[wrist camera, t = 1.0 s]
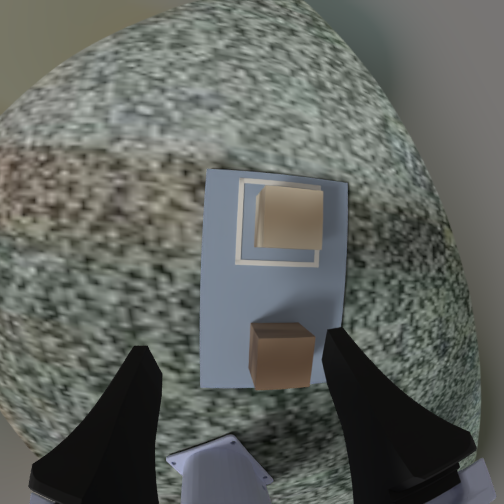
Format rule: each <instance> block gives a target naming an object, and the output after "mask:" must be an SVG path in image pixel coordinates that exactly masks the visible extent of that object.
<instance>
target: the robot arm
mask: <svg viewBox="0 0 504 504" xmlns="http://www.w3.org/2000/svg"><path fill="white" fill-rule="evenodd" d="M321 360H322V364H323V369H324V374H325V378H326V382H327V385H328V388H329V391H330V393H331V396H332V399H333V402H334V405H335V408H336V411H337V414H338V416H339V419H340V422H341V426H342V429H343V433H344V437H345V442H346V447H347V453H348V458H349V464H350V471H351V478H352V488H353V500H354V504H489V503H491V502H492V501H493V500H494V499H495V498H496V494H495V490H494V487H493V484H492V481H491V478H490V475H489V472H488V469H487V467H486V464H485V461H484V459H483V458H481V459H479V460H477V461H476V462H474V463H473V464H471V465H470V466H468V467H466V468H464V469H463V470H460V471H458V472H457V469H459V468H460V466H459V463H458V462H459V461H461V460H462V459H464V458H466V457H467V456H469V455H470V454H472V453H473V452H474V451H476V449H477V447H476V445H475V442H474V440H473V438H472V436H471V434H470V432H469V431H466V430H464V429H462V428H460V427H457V426H455V425H453V424H451V423H449V422H447V421H445V420H444V419H442V418H440V417H438V416H437V415H435V414H433V413H432V412H430V411H429V410H427V409H426V408H424V407H423V406H421V405H420V404H418V403H417V402H416V401H414V400H413V399H412V398H410V397H409V396H408V395H407V394H405V393H404V392H403V391H402V390H400V389H399V388H398V387H397V386H396V385H395V384H394V383H393V382H392V381H391V380H389V379H388V378H387V377H386V376H385V375H384V374H383V373H382V372H381V371H380V370H379V369H378V368H377V367H376V366H375V364H374V363H373V362H372V361H371V360H370V359H369V358H368V357H367V356H366V355H365V354H364V352H363V351H362V350H361V349H360V348H359V347H358V345H357V344H356V343H355V342H354V341H353V340H352V338H351V337H350V336H349V335H348V333H347V332H346V331H345V330H344V328H342V327H338V328H332V329H327V333H326V339H325V344H324V349H323V354H322V359H321ZM161 397H162V372H161V370H160V369H159V367H158V365H157V363H156V361H155V359H154V357H153V355H152V354H151V352H150V350H149V348H148V346H134V347H133V348H132V350H131V351H130V353H129V354H128V356H127V358H126V359H125V361H124V362H123V364H122V366H121V367H120V369H119V370H118V372H117V374H116V375H115V377H114V378H113V380H112V381H111V383H110V384H109V386H108V387H107V389H106V390H105V392H104V393H103V395H102V396H101V397H100V399H99V400H98V402H97V403H96V404H95V406H94V407H93V408H92V410H91V411H90V412H89V414H88V415H87V416H86V417H85V418H84V420H83V421H82V422H81V423H80V424H79V425H78V426H77V427H76V428H75V429H74V431H73V432H72V433H71V434H70V435H69V436H68V437H67V438H66V439H64V440H63V441H62V442H61V443H60V444H59V445H58V446H56V447H55V448H54V449H53V450H52V451H50V452H49V453H48V454H46V455H45V456H44V457H42V458H41V459H39V460H38V461H36V462H35V463H33V464H32V469H31V474H30V480H29V488H30V489H31V490H32V491H34V492H36V493H38V494H40V495H42V496H44V497H46V498H48V499H50V500H48V499H46V498H44V497H41V496H39V495H37V494H35V493H31V497H30V504H159V501H158V494H157V485H156V471H155V440H156V432H157V425H158V418H159V411H160V404H161ZM232 441H235V442H232ZM166 461H167V462H168V463H169V464H170V465H171V466H172V467H173V468H174V469H175V470H177V471H178V472H179V473H180V474H181V475H182V476H183V479H182V492H181V504H271V500H270V497H269V494H268V490H267V487H266V485H267V484H270V483H272V482H273V478H272V477H271V476H270V475H269V474H268V473H267V472H266V471H265V470H264V468H263V467H262V466H261V465H260V464H259V463H258V462H257V461H256V460H255V459H254V458H253V456H252V455H251V454H250V453H249V452H248V451H247V450H246V448H245V447H244V446H243V445H242V444H241V443H240V441H239V440H238V439H237V438H236V437H235V436H234V435H232V434H229V435H226V436H224V437H221V438H219V439H216V440H214V441H211V442H208V443H206V444H203V445H200V446H197V447H194V448H191V449H188V450H185V451H182V452H179V453H176V454H172V455H169V456H167V458H166ZM174 462H175V463H174ZM264 476H265V477H264ZM51 500H53V501H55V502H53V501H51Z"/></svg>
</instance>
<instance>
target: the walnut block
mask: <svg viewBox="0 0 504 504" xmlns="http://www.w3.org/2000/svg"><path fill="white" fill-rule="evenodd" d="M315 338H316V337H315V336H314V335H313V334H312V333H311V332H309V331H308V330H307V329H306V328H305V327H303V326H302V325H301V324H300V323H299V322H295V323H250V344H249V365H248V368H249V371H250V374H251V378H252V381H253V384H254V387H255V390H273V389H288V388H300V387H310V380H311V372H312V364H313V356H314V347H315Z"/></svg>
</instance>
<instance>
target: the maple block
mask: <svg viewBox="0 0 504 504" xmlns="http://www.w3.org/2000/svg"><path fill="white" fill-rule="evenodd" d="M322 235H323V191H319V190H310V189H301V188H292V187H282V186H271V185H265V187H264V188H263V189H262V190H261V191H260V192H259V194H258V195H257V196H256V211H255V234H254V247H259V248H280V249H301V250H322Z"/></svg>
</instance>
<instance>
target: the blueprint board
mask: <svg viewBox="0 0 504 504" xmlns="http://www.w3.org/2000/svg"><path fill="white" fill-rule="evenodd" d="M265 185H271V186H282V187H292V188H301V189H310V190H319V191H323V235H322V250H301V249H280V248H259V247H254V234H255V211H256V196H257V195H258V194H259V192H260V191H261V190H262V189H263V188H264V187H265ZM347 226H348V183H344V182H337V181H331V180H323V179H316V178H308V177H300V176H291V175H282V174H272V173H261V172H249V171H236V170H219V169H207V174H206V187H205V201H204V217H203V235H202V257H201V288H200V386H201V387H202V388H255V387H254V384H253V381H252V378H251V374H250V371H249V368H248V365H249V344H250V323H295V322H299V323H300V324H301V325H302V326H303V327H305V328H306V329H307V330H308V331H309V332H311V333H312V334H313V335H314V336H315V337H316V338H315V347H314V356H313V364H312V372H311V380H310V384H315V383H324V382H326V378H325V374H324V369H323V364H322V360H321V359H322V354H323V349H324V344H325V339H326V333H327V329H332V328H338V327H341V321H342V311H343V301H344V288H345V274H346V256H347Z"/></svg>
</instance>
